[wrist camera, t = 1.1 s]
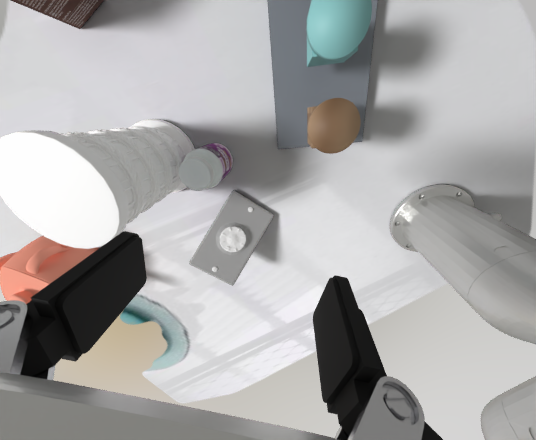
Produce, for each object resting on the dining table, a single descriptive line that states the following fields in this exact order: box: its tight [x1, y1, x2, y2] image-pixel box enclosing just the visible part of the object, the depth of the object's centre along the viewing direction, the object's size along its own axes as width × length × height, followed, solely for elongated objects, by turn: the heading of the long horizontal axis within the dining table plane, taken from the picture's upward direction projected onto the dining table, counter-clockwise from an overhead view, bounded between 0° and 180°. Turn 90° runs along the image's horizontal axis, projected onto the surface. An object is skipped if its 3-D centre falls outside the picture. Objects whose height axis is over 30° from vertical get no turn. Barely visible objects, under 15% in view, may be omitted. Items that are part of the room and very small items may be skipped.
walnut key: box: [307, 98, 361, 153], centre depth 23 cm, size 5×5×6 cm
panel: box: [268, 0, 378, 149], centre depth 23 cm, size 12×22×6 cm, turn 5°
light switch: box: [189, 190, 274, 285], centre depth 37 cm, size 8×6×14 cm
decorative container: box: [0, 119, 195, 249], centre depth 26 cm, size 12×12×18 cm
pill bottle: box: [179, 143, 233, 191], centre depth 29 cm, size 5×5×10 cm
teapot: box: [0, 236, 99, 304], centre depth 40 cm, size 15×17×13 cm
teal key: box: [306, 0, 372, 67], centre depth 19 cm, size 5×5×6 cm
